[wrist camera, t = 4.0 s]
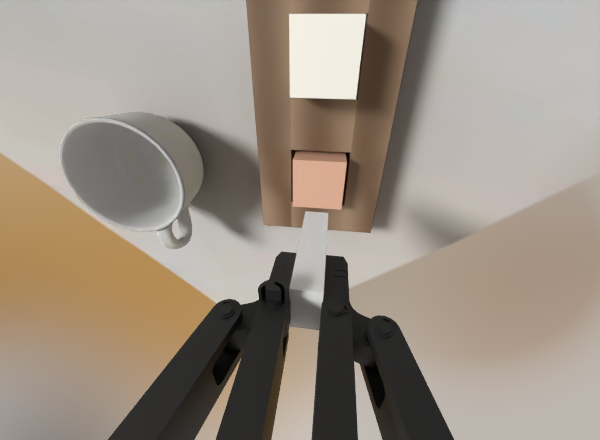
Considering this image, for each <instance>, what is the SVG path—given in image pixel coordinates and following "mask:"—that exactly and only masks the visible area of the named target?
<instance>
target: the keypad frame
mask: <svg viewBox="0 0 600 440" xmlns="http://www.w3.org/2000/svg"><path fill="white" fill-rule="evenodd" d="M246 4H247V17H248V30H249V43H250V56H251V68H252V81H253V94H254V107H255V120H256V133H257V145H258V158H259V171H260V184H261V197H262V210H263V223H264V225H273V226H286V227H299V228H302V225H303V220H304V216H305V211H310V212H323V213H328V229H327V230H339V231H352V232H366V233H371V228H372V224H373V219H374V214H375V209H376V204H377V199H378V194H379V189H380V184H381V179H382V174H383V169H384V164H385V159H386V154H387V149H388V144H389V139H390V134H391V129H392V124H393V119H394V114H395V109H396V104H397V99H398V94H399V89H400V84H401V79H402V74H403V69H404V64H405V59H406V54H407V49H408V44H409V40H410V35H411V30H412V25H413V20H414V15H415V10H416V5H417V0H246ZM289 14H366V20H365V28H364V36H363V45H362V53H361V61H360V70H359V78H358V86H357V95H356V99H321V98H290V63H289ZM295 150H309V151H330V152H348V159H347V167H346V176H345V184H344V193H343V200H342V208H341V210H337V209H323V208H308V207H293V158H294V155H295Z"/></svg>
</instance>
